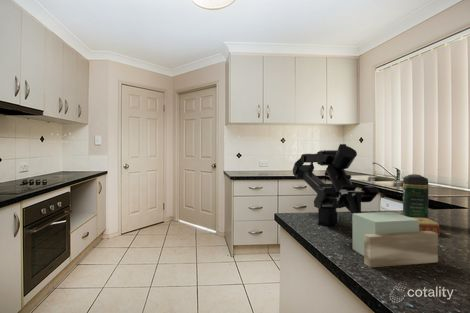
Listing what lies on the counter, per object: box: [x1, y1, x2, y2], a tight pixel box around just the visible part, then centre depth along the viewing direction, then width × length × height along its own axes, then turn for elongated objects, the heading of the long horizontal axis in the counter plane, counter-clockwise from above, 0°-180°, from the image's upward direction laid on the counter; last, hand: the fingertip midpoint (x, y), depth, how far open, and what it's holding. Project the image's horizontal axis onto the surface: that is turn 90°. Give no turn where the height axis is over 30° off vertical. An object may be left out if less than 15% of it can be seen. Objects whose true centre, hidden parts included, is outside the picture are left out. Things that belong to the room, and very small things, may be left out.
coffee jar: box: [402, 173, 430, 219], centre depth 95 cm, size 10×8×19 cm
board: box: [363, 231, 439, 268], centre depth 59 cm, size 2×18×7 cm, turn 98°
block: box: [351, 211, 419, 257], centre depth 65 cm, size 9×12×10 cm
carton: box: [410, 217, 441, 237], centre depth 85 cm, size 8×16×4 cm, turn 75°
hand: (359, 217), depth 75 cm, fingers closed
